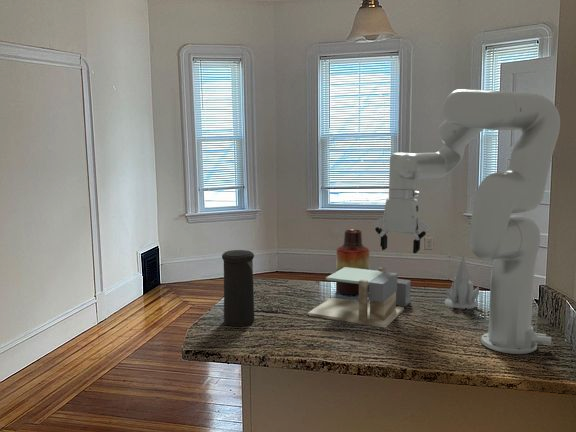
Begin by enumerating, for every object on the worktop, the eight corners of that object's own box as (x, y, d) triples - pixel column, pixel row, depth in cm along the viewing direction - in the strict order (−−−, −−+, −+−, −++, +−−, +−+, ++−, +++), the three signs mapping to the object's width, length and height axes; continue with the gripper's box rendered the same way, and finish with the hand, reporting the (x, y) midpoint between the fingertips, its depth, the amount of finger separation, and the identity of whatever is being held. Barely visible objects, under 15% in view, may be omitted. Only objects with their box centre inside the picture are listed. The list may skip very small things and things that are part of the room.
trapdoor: (397, 289, 161) (398, 272, 160) (382, 302, 149) (382, 284, 148) (344, 283, 169) (344, 267, 168) (325, 294, 156) (325, 277, 156)
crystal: (474, 297, 175) (475, 251, 172) (481, 310, 162) (483, 260, 160) (441, 296, 176) (443, 250, 174) (446, 309, 163) (448, 259, 161)
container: (261, 321, 154) (260, 250, 151) (237, 329, 147) (235, 255, 144) (240, 314, 159) (239, 246, 157) (216, 322, 153) (214, 251, 150)
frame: (404, 309, 163) (404, 269, 161) (385, 328, 147) (385, 284, 146) (332, 299, 173) (332, 262, 172) (307, 315, 158) (307, 274, 156)
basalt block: (410, 302, 170) (410, 280, 169) (405, 306, 166) (405, 284, 165) (394, 300, 172) (394, 278, 171) (389, 304, 168) (389, 282, 167)
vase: (371, 296, 177) (372, 233, 174) (337, 296, 177) (337, 233, 174) (366, 287, 187) (367, 228, 184) (334, 287, 187) (335, 228, 185)
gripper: (434, 194, 164) (431, 251, 167) (377, 191, 172) (376, 245, 175) (427, 197, 157) (425, 256, 160) (369, 194, 165) (368, 250, 168)
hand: (399, 250), depth 167 cm, fingers open, 9 cm apart
